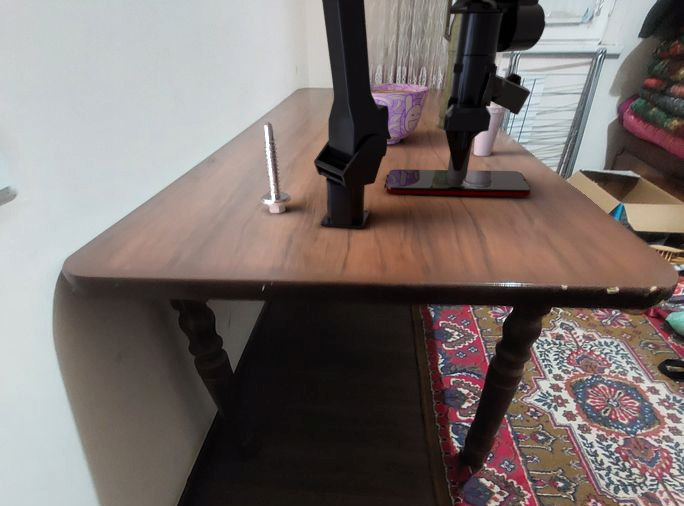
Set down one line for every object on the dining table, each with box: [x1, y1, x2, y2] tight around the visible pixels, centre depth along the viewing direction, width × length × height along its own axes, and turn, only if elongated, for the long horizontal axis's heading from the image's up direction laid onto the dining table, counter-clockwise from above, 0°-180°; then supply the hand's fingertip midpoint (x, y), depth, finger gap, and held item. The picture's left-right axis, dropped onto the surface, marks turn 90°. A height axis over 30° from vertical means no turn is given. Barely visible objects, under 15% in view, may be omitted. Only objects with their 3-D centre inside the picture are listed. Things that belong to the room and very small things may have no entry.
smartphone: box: [384, 168, 532, 198], centre depth 74 cm, size 12×2×25 cm
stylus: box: [447, 139, 474, 185], centre depth 67 cm, size 3×3×9 cm
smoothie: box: [473, 102, 507, 157], centre depth 88 cm, size 6×6×14 cm
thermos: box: [437, 0, 461, 130], centre depth 106 cm, size 9×12×35 cm
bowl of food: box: [370, 82, 430, 145], centre depth 101 cm, size 20×20×12 cm
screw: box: [260, 121, 292, 214], centre depth 63 cm, size 13×5×5 cm
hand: (457, 167), depth 69 cm, fingers closed on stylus, 3 cm apart
